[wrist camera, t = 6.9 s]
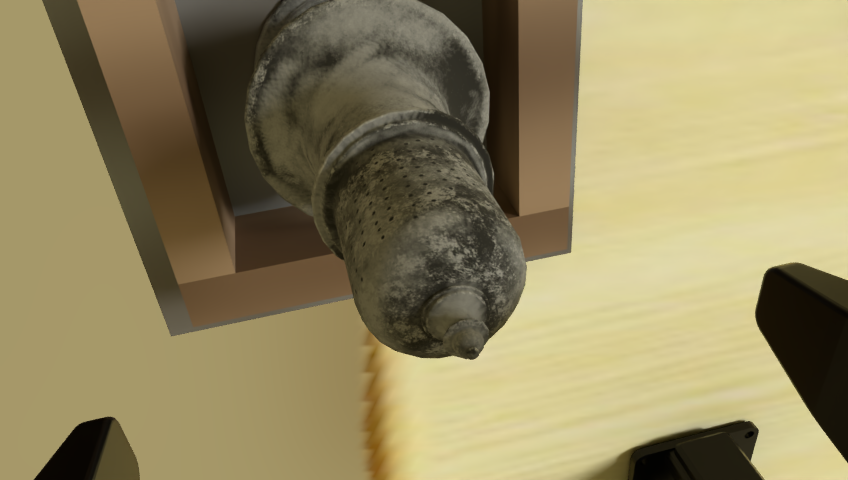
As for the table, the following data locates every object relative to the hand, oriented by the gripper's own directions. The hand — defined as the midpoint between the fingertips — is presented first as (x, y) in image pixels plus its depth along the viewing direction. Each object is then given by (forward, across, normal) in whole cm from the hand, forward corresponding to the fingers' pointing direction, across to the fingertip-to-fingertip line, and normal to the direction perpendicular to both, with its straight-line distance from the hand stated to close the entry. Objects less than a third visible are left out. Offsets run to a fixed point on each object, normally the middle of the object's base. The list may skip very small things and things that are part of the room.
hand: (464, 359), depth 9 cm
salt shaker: (+12, 0, 0) cm, 12 cm away
